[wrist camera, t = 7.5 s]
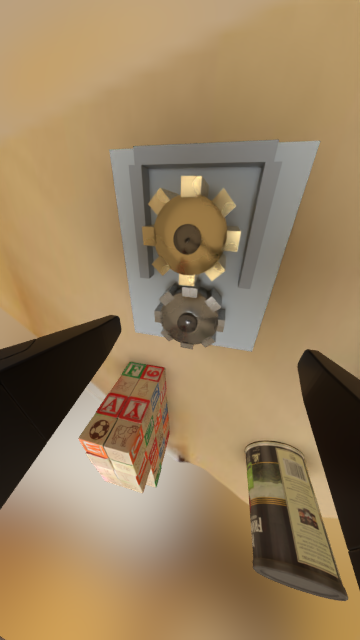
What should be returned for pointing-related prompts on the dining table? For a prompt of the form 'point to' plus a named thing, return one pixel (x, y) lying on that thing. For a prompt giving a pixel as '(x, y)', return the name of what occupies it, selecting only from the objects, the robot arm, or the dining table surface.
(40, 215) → the dining table surface
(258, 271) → the gear board
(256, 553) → the coffee can
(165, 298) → the gear
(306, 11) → the dining table surface
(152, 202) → the brass gear
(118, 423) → the stack of blocks
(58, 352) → the robot arm
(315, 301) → the dining table surface
